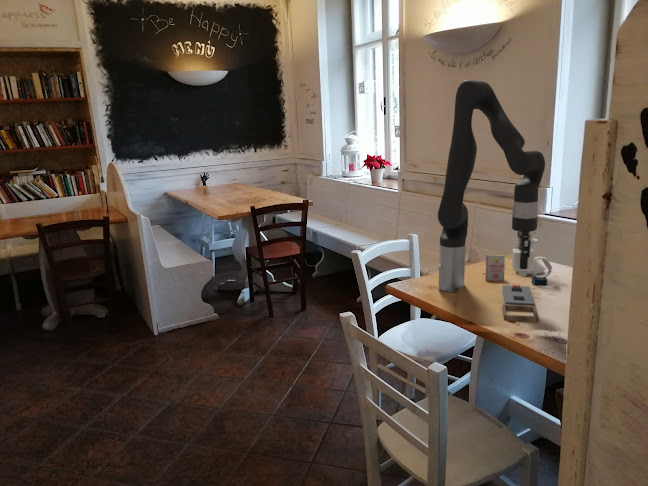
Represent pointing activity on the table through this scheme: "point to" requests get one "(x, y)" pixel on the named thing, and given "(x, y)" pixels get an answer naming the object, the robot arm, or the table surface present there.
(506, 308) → the tray
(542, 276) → the watch
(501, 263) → the tea box
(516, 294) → the power strip
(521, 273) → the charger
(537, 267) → the flower in vase
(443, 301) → the table surface
